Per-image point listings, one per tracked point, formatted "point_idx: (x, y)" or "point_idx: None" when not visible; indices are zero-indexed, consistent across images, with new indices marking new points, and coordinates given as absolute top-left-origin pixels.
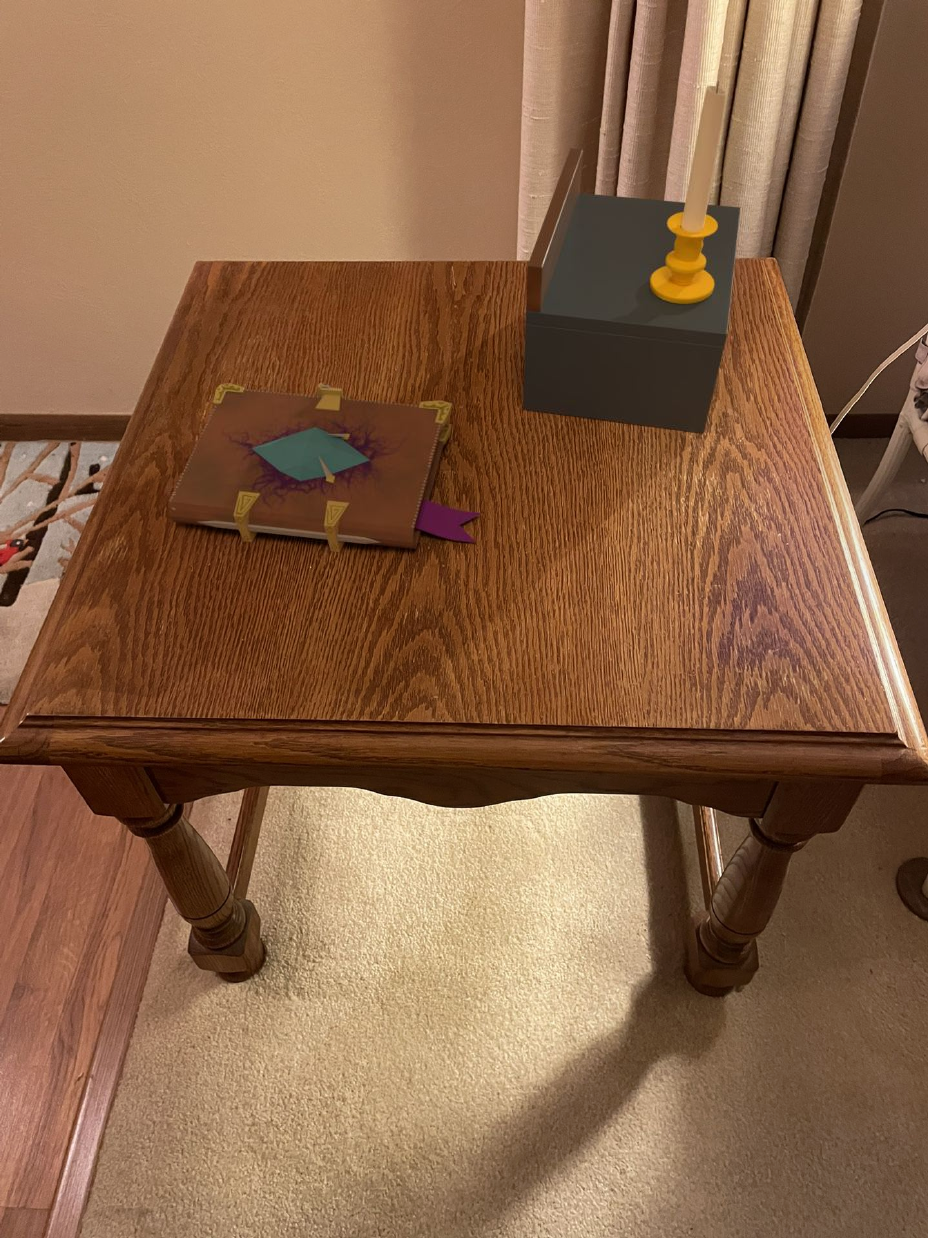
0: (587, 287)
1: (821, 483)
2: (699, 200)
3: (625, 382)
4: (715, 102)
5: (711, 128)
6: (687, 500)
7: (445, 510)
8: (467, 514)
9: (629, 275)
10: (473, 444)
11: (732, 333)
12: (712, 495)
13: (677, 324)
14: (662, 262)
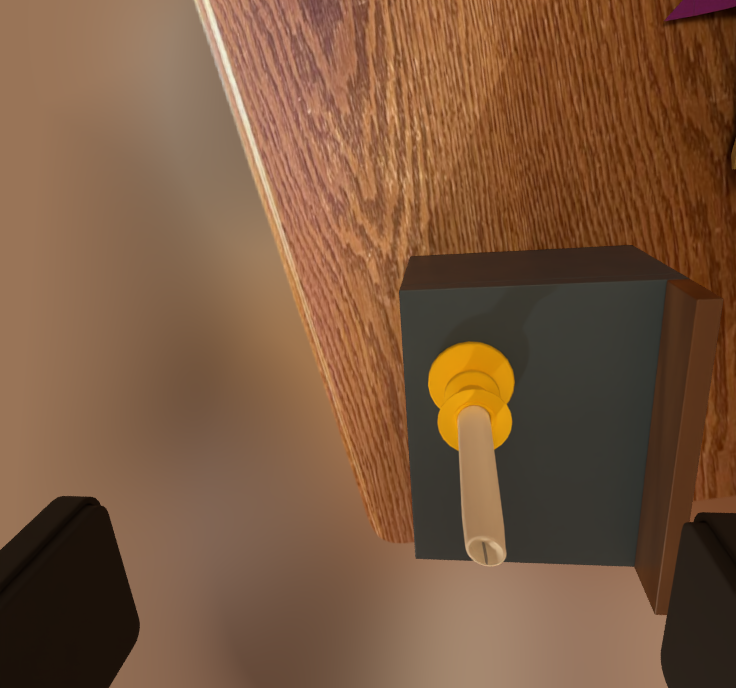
0: (600, 353)
1: (278, 208)
2: (472, 429)
3: (514, 263)
4: (483, 524)
5: (479, 495)
6: (412, 137)
7: (718, 3)
8: (684, 10)
9: (543, 391)
10: (691, 162)
11: (401, 433)
12: (386, 154)
13: (465, 295)
14: None
